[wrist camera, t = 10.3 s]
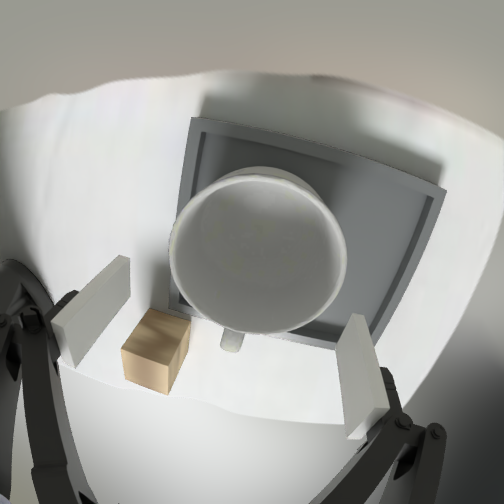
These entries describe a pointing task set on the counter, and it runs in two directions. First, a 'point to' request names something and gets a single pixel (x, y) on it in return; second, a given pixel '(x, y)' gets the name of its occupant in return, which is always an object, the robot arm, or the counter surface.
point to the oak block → (156, 350)
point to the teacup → (257, 253)
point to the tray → (342, 206)
